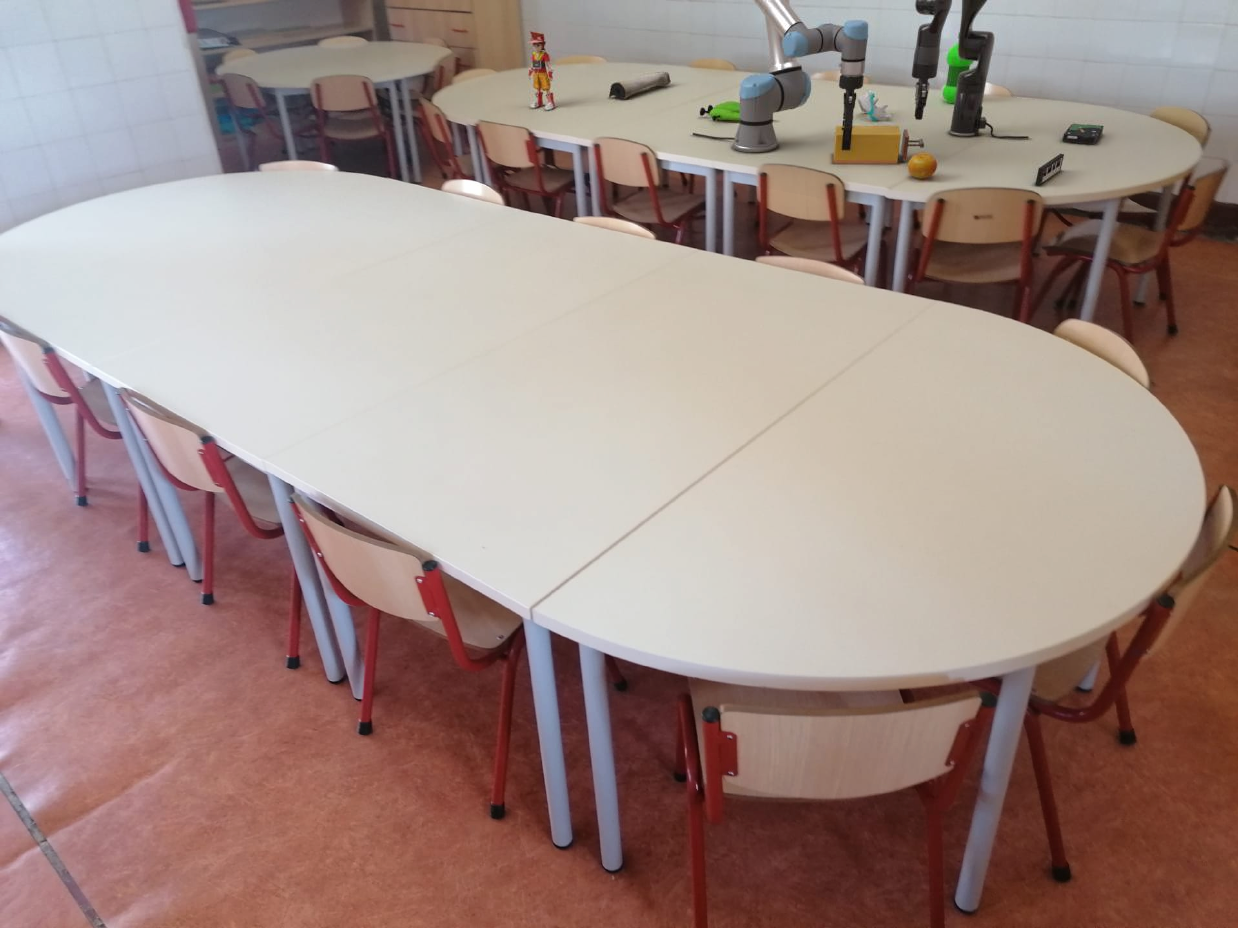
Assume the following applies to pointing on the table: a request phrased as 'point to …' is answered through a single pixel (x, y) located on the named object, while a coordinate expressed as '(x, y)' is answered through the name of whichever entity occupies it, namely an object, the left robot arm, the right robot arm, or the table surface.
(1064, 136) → the disk drive
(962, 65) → the plastic bottle
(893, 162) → the cabinet
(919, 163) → the fruit
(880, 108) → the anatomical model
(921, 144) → the drawer
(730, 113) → the toy
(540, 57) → the toy
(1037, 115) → the table surface
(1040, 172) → the midi keyboard
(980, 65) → the right robot arm
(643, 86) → the rolled mat
